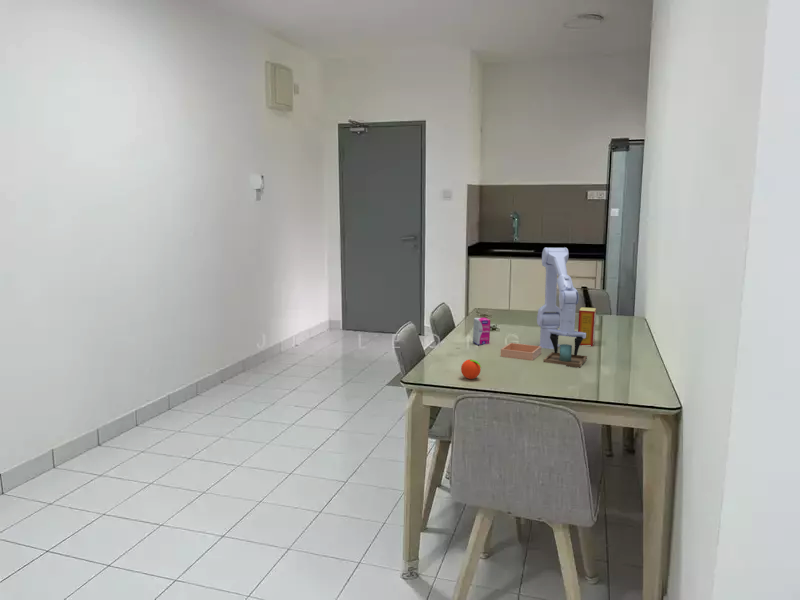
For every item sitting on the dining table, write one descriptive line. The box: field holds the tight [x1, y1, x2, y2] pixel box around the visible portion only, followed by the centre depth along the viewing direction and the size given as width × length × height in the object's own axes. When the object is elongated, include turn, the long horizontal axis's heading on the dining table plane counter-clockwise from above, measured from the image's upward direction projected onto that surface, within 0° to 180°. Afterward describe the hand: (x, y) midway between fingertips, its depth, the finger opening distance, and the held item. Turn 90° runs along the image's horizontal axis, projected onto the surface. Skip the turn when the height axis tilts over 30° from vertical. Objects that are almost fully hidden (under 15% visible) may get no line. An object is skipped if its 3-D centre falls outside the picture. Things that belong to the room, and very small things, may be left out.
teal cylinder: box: [559, 343, 573, 362], centre depth 241 cm, size 4×4×6 cm
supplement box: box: [472, 317, 491, 346], centre depth 271 cm, size 6×6×12 cm
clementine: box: [460, 358, 482, 380], centre depth 216 cm, size 8×7×7 cm
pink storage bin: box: [500, 342, 542, 361], centre depth 250 cm, size 13×13×4 cm
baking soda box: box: [577, 306, 597, 347], centre depth 273 cm, size 10×6×16 cm
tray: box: [542, 351, 588, 368], centre depth 242 cm, size 14×14×2 cm
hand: (565, 354), depth 241 cm, fingers open, 7 cm apart
